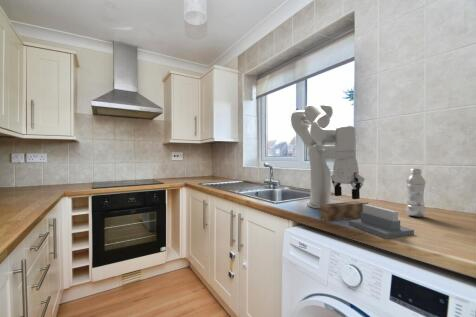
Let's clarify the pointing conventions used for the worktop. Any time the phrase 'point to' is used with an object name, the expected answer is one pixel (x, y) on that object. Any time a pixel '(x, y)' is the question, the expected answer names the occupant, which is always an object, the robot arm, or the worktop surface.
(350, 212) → the brown wooden block
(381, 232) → the ridge stand
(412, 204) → the plastic bottle
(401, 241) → the worktop surface
